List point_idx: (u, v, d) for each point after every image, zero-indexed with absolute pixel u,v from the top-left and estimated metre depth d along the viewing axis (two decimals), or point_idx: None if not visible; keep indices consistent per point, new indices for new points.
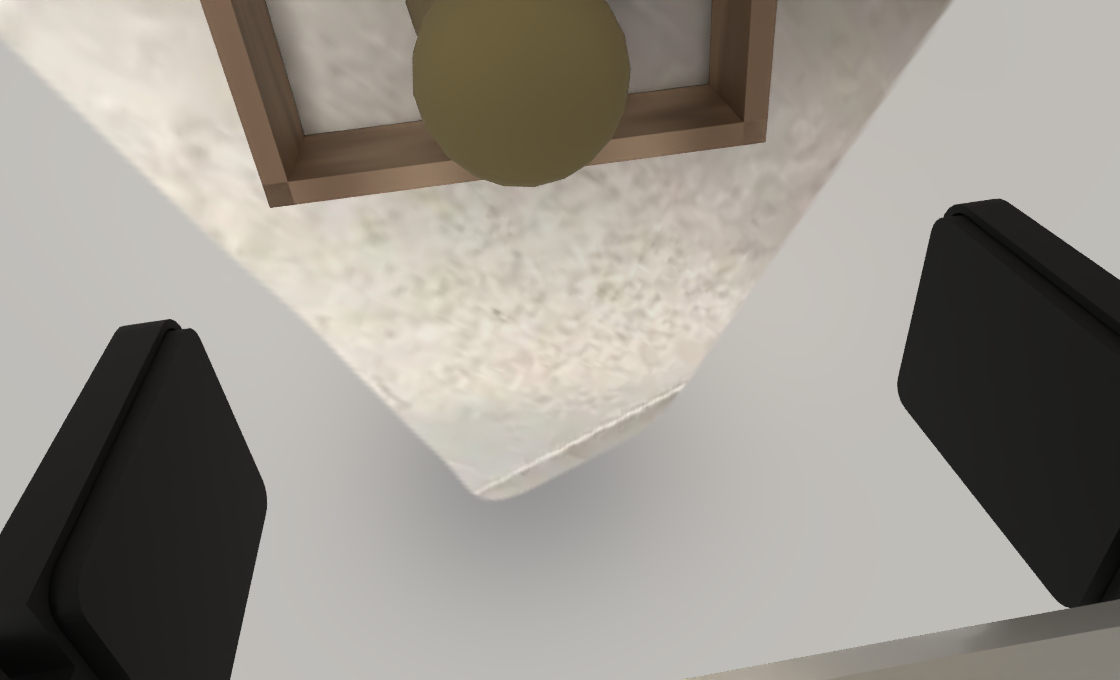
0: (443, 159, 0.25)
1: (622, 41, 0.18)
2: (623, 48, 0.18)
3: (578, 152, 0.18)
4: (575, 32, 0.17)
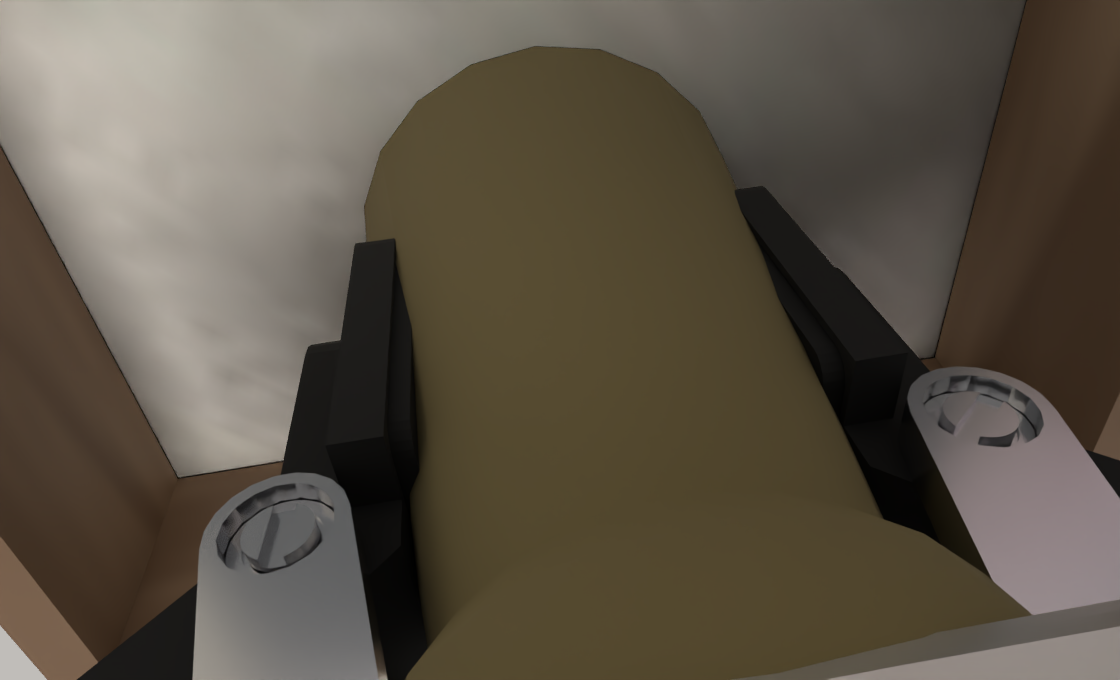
0: None
1: None
2: None
3: None
4: None
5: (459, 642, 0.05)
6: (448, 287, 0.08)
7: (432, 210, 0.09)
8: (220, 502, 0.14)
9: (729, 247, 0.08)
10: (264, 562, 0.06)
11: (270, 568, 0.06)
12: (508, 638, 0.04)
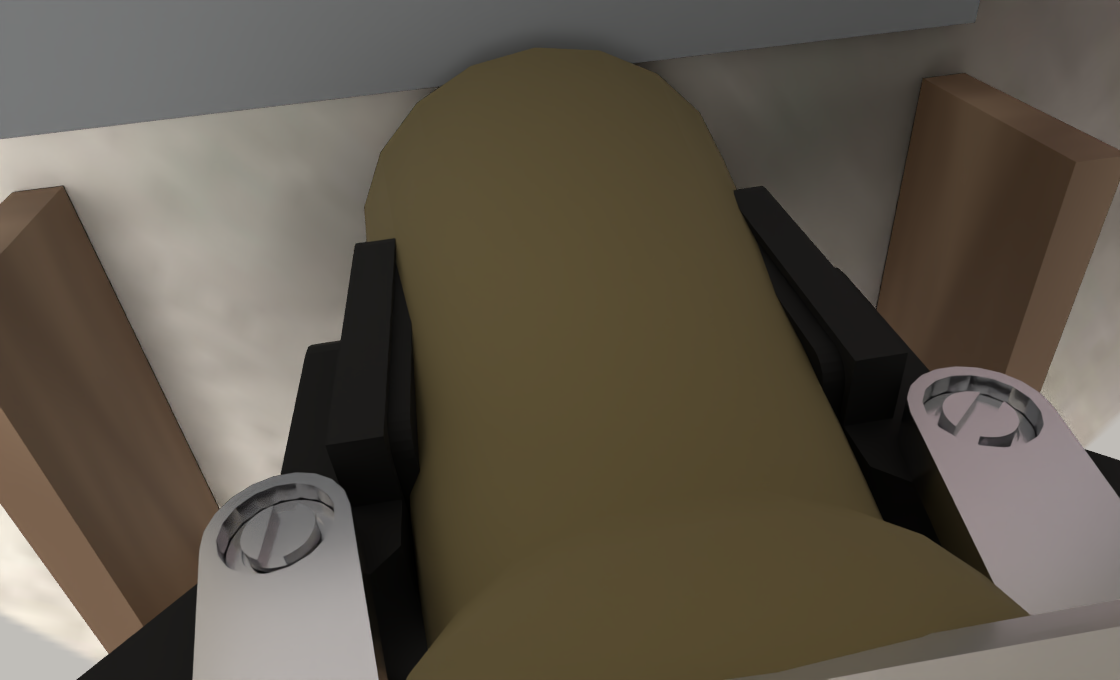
0: None
1: None
2: None
3: None
4: None
5: (459, 645, 0.05)
6: (447, 288, 0.08)
7: (432, 212, 0.09)
8: None
9: (729, 248, 0.08)
10: (265, 562, 0.06)
11: (271, 568, 0.06)
12: (507, 639, 0.04)
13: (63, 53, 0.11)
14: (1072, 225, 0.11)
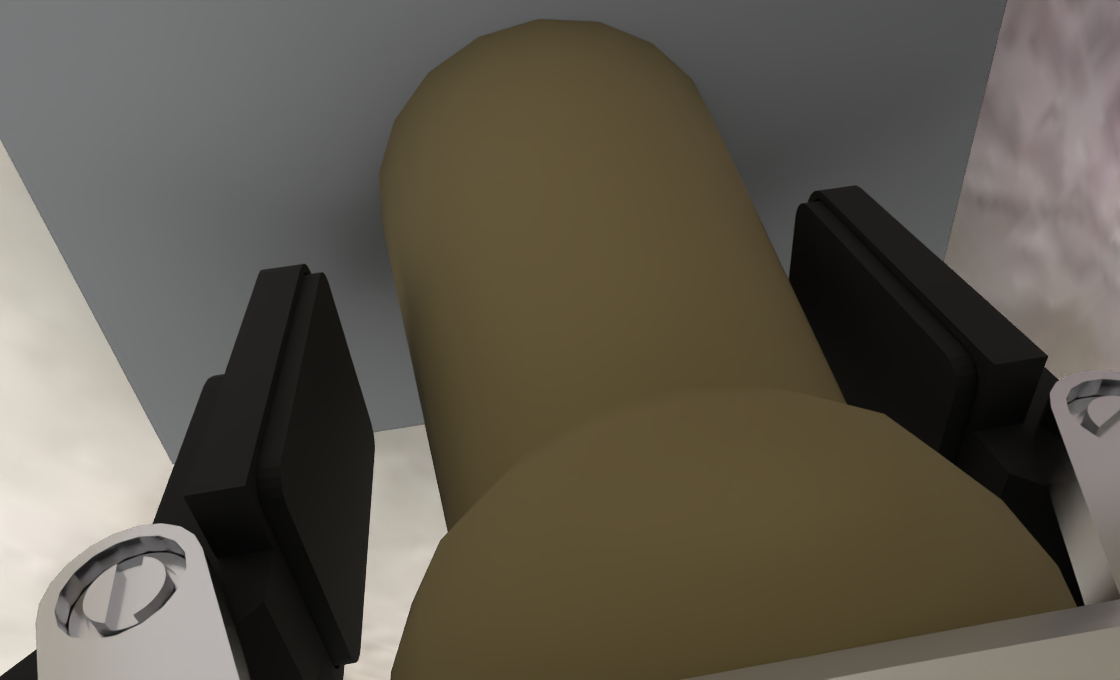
0: None
1: None
2: None
3: None
4: None
5: (485, 506, 0.05)
6: (463, 233, 0.09)
7: (446, 167, 0.10)
8: None
9: (719, 193, 0.09)
10: (113, 625, 0.06)
11: (121, 630, 0.06)
12: (528, 492, 0.05)
13: None
14: None
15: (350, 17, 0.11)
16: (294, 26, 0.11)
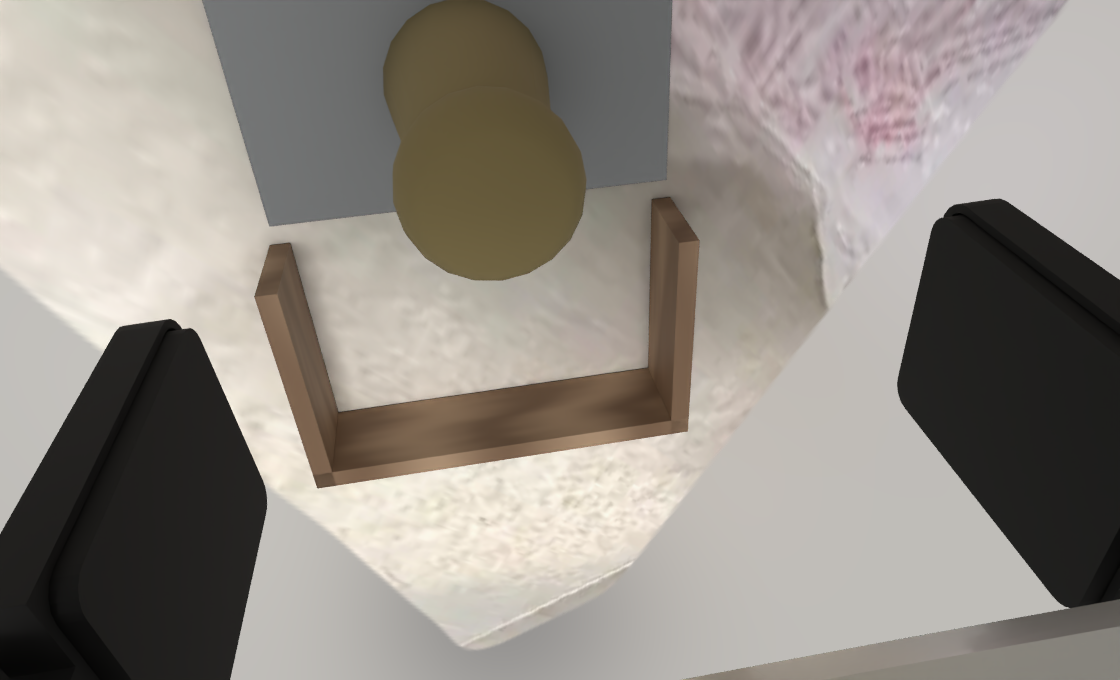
0: (448, 451, 0.34)
1: (578, 159, 0.20)
2: (579, 165, 0.20)
3: (540, 253, 0.20)
4: (537, 156, 0.19)
5: None
6: (419, 70, 0.23)
7: (413, 52, 0.25)
8: (358, 420, 0.36)
9: (514, 59, 0.24)
10: None
11: None
12: (430, 105, 0.20)
13: (303, 195, 0.30)
14: (685, 265, 0.30)
15: None
16: None
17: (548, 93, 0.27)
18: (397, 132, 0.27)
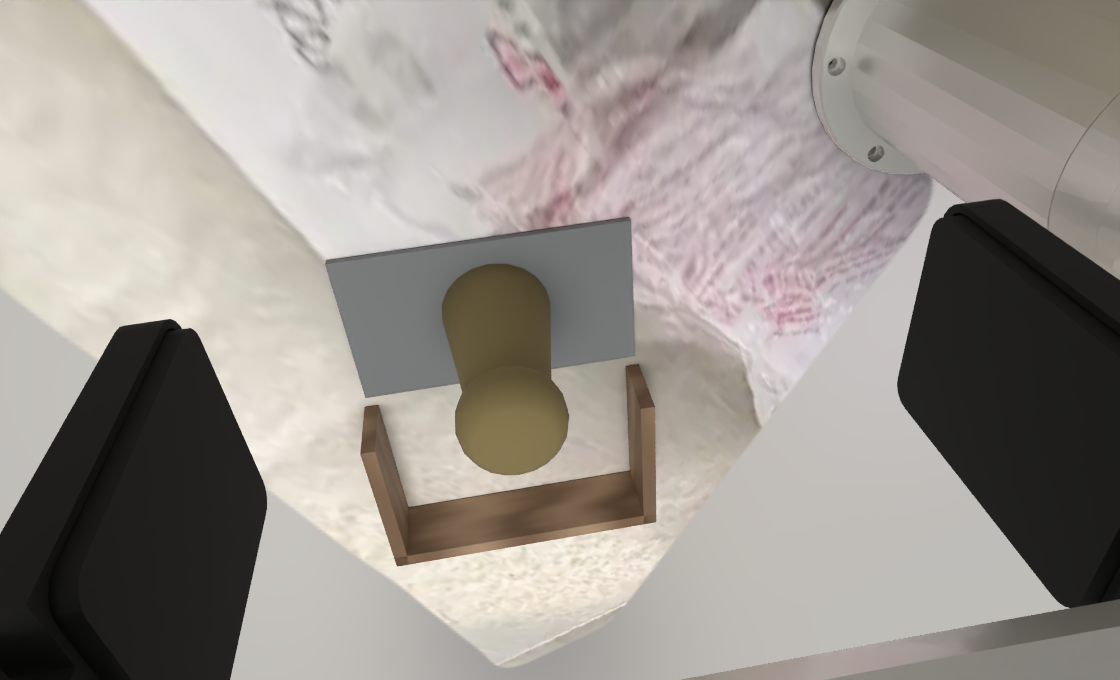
0: (486, 540, 0.48)
1: (563, 410, 0.34)
2: (563, 414, 0.34)
3: (541, 462, 0.35)
4: (538, 416, 0.33)
5: (470, 383, 0.35)
6: (467, 331, 0.38)
7: (462, 312, 0.39)
8: (422, 514, 0.50)
9: (526, 322, 0.38)
10: None
11: None
12: (476, 380, 0.34)
13: (388, 378, 0.44)
14: (646, 421, 0.44)
15: (435, 265, 0.40)
16: (420, 268, 0.40)
17: (549, 325, 0.41)
18: None
